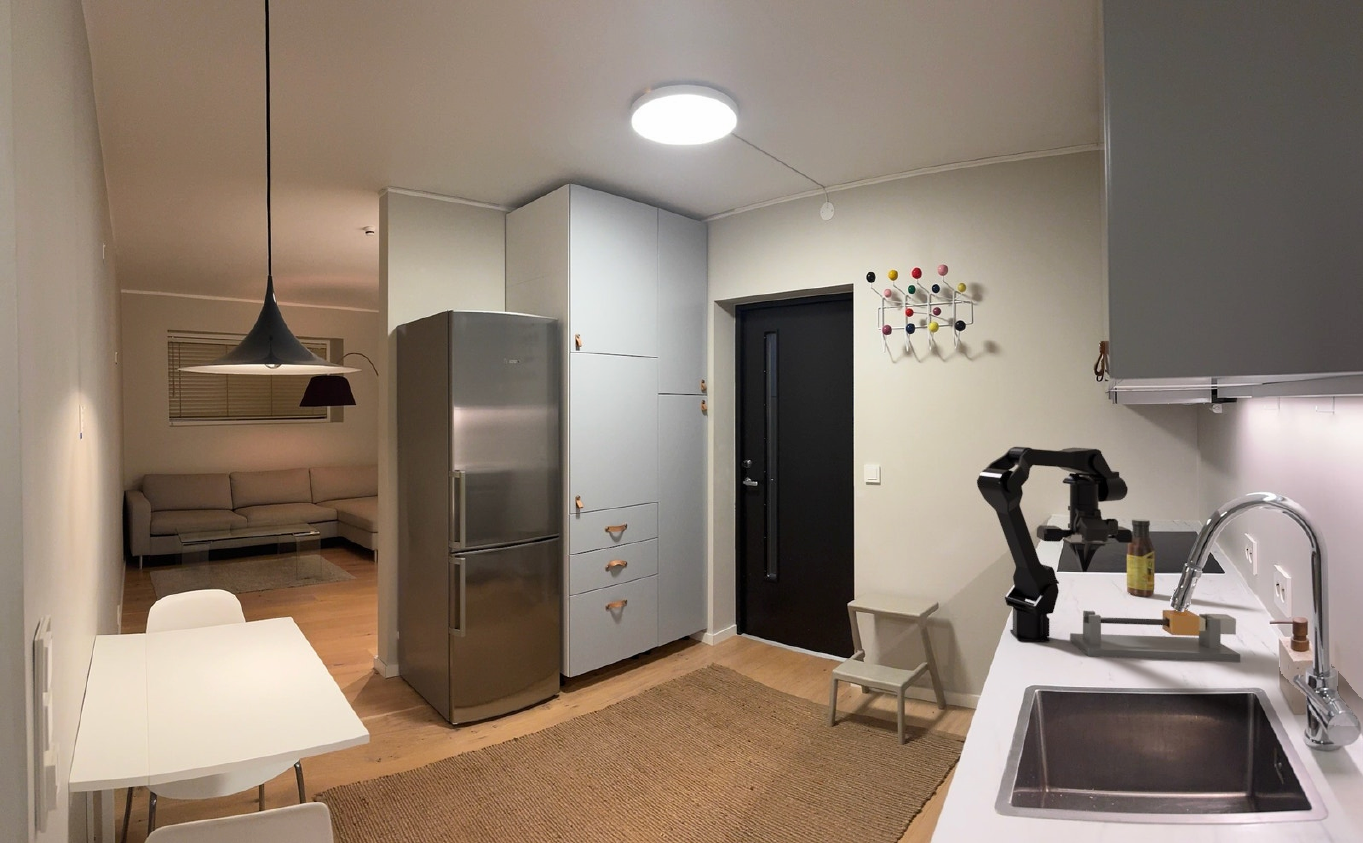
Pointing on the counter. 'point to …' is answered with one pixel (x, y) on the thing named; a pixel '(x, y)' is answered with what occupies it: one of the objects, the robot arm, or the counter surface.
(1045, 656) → the counter surface
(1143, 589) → the sauce bottle
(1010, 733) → the counter surface
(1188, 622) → the orange slider block
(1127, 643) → the stand
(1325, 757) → the counter surface
